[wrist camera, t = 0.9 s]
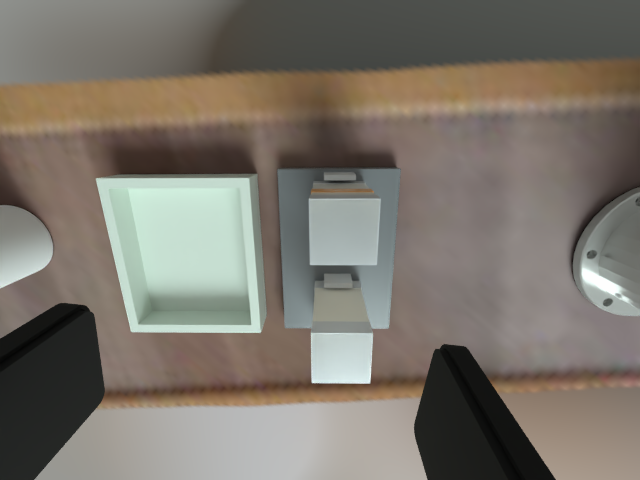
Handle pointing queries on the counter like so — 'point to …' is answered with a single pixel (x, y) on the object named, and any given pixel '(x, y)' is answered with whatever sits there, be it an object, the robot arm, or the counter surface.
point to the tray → (187, 250)
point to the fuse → (340, 335)
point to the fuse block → (303, 275)
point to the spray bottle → (22, 244)
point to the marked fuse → (343, 223)
